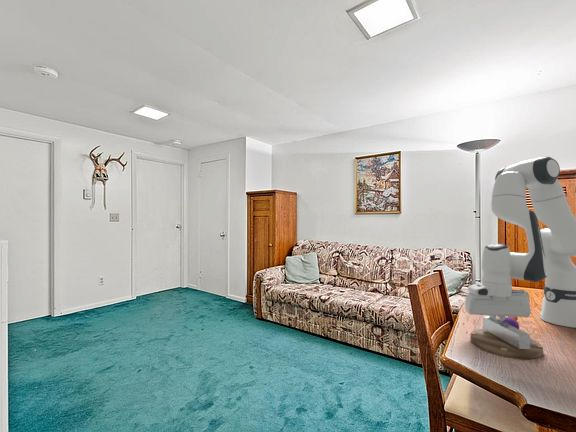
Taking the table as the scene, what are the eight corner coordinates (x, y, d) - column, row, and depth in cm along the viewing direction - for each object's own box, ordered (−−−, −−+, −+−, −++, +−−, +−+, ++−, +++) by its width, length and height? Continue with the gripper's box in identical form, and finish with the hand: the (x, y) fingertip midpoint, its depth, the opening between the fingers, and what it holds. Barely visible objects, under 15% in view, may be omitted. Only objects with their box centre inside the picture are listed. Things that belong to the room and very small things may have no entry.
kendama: (523, 313, 125) (520, 322, 110) (519, 327, 126) (516, 338, 110) (505, 308, 129) (500, 316, 114) (502, 321, 129) (497, 331, 114)
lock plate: (473, 330, 117) (473, 323, 117) (540, 343, 105) (540, 335, 105) (467, 348, 101) (467, 341, 101) (545, 366, 89) (545, 357, 89)
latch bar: (482, 328, 111) (482, 315, 111) (492, 328, 111) (492, 314, 111) (519, 348, 94) (519, 332, 94) (530, 348, 94) (530, 332, 94)
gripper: (523, 288, 111) (524, 325, 111) (463, 286, 114) (463, 322, 115) (534, 292, 104) (534, 332, 105) (469, 290, 108) (470, 328, 108)
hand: (497, 327), depth 110 cm, fingers closed, pressing on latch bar
